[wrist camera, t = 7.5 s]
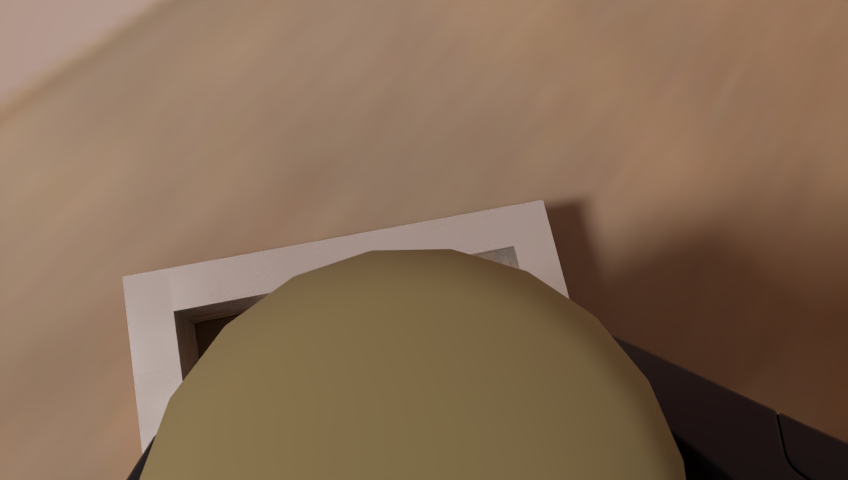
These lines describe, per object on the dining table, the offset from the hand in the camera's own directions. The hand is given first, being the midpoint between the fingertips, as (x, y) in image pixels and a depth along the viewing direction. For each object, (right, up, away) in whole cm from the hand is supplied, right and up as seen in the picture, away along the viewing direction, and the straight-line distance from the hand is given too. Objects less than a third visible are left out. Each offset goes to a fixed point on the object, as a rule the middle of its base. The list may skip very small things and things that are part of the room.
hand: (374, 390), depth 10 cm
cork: (0, -3, +6) cm, 7 cm away
